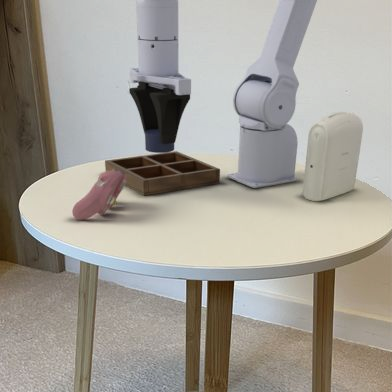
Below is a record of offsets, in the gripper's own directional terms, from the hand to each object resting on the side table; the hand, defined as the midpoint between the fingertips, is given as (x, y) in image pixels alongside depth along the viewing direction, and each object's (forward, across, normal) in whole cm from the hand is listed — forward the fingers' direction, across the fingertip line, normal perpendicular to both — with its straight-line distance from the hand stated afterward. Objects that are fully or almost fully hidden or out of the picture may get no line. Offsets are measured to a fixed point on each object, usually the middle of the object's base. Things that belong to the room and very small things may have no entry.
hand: (159, 139), depth 91 cm
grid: (+8, -8, +5) cm, 12 cm away
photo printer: (+9, +13, +23) cm, 28 cm away
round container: (+1, 0, 0) cm, 1 cm away
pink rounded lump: (+9, +3, -12) cm, 15 cm away
